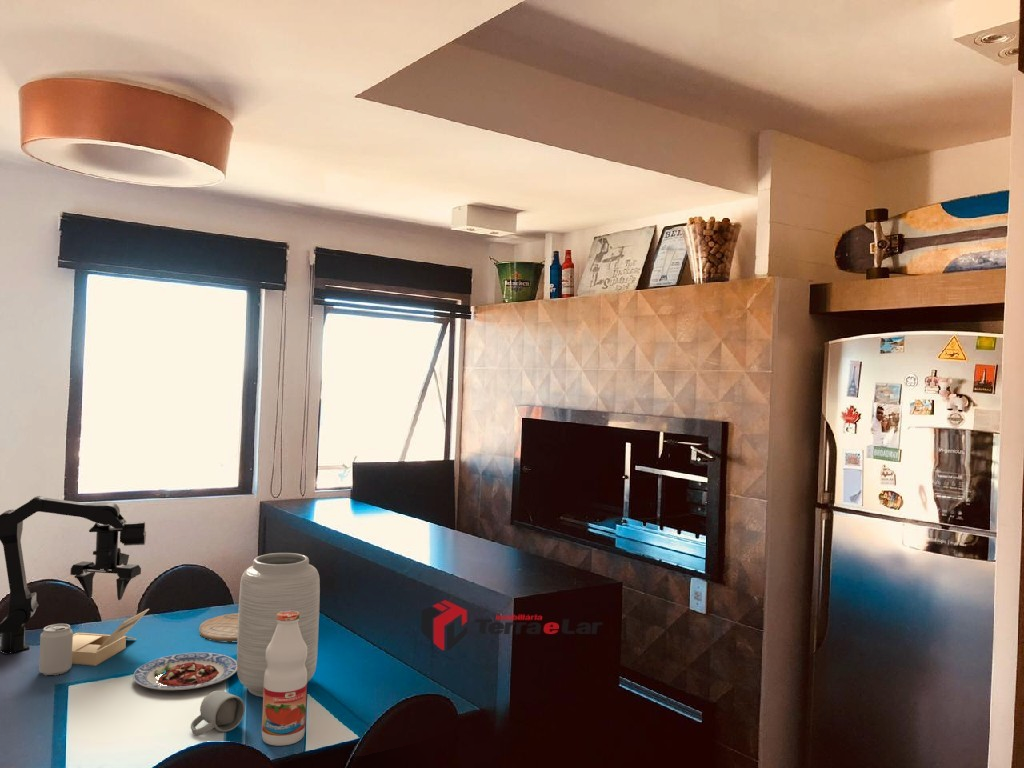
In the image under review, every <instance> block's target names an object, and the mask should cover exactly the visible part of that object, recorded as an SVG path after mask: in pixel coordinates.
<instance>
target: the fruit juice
mask: <svg viewBox="0 0 1024 768" xmlns="http://www.w3.org/2000/svg"><path fill="white" fill-rule="evenodd" d="M298 621H299V612H297V611H292V610H287V611H281V612H279V613H278V614H277V622H278V625H277V627H276V630H275V633H274V635H273V638H272V640H271V642H270V643H269V645H268V646H267V649H266V654H265V657H266V662H267V669H266V671H265V675H264V687H263V697H262V718H261V738H262V740H263V742H264V743H265V744H267V745H269V746H277V747H278V746H279V747H281V746H282V747H283V746H290V745H293V744H296V743H298V742H299V741H301V740H302V739H303V738H304V736H305V733H306V714H307V713H306V712H307V710H306V709H307V689H308V682H307V670H306V667H305V661H306V658H307V645H306V643H305V642H304V640H303V638H302V635H301V632H300V628H299V625H298Z"/></svg>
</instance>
